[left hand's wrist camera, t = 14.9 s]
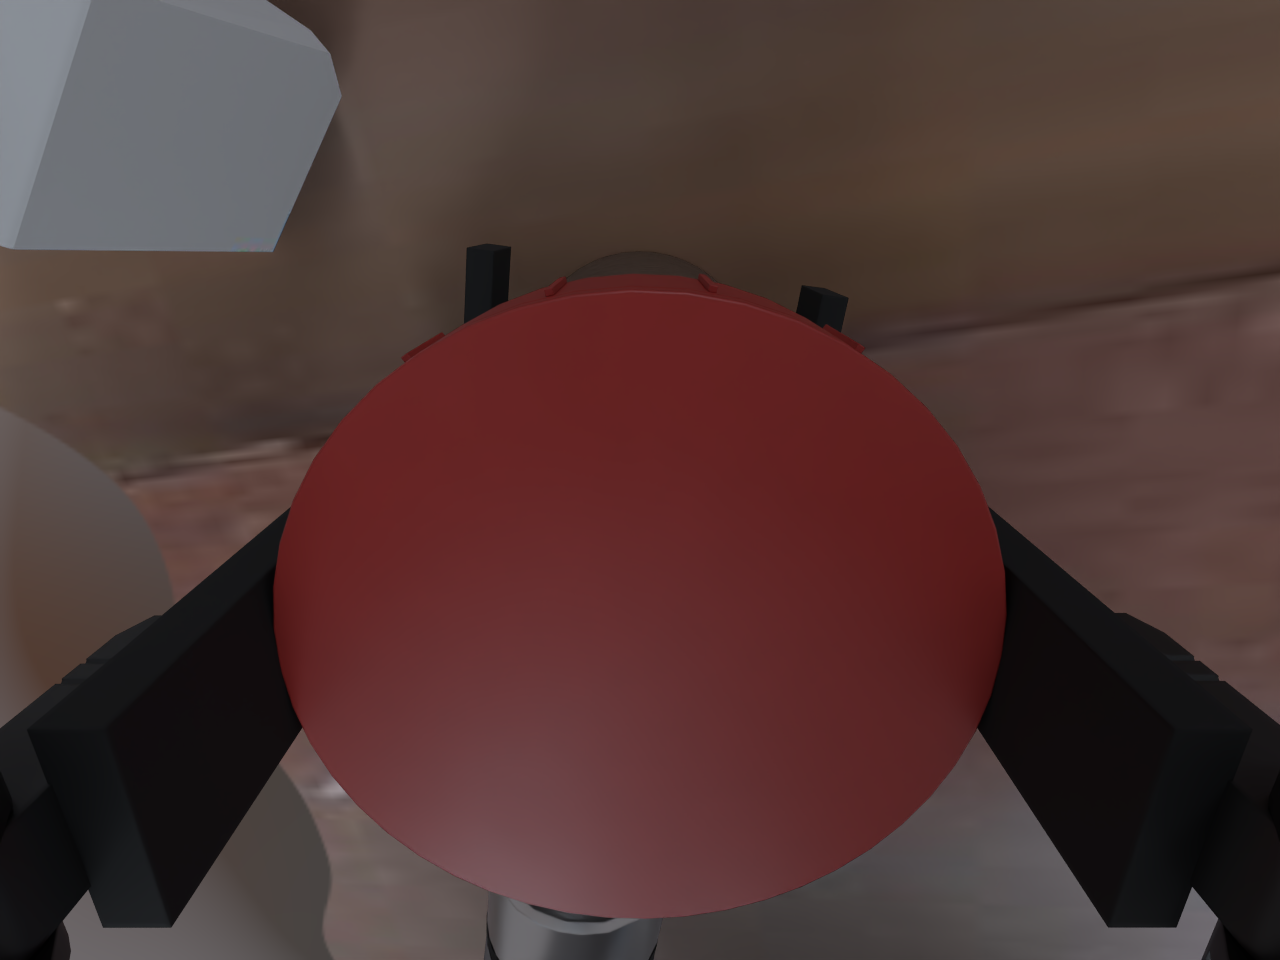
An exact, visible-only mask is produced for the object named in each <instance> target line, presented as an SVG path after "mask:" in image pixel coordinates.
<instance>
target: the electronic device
mask: <svg viewBox="0 0 1280 960" xmlns="http://www.w3.org/2000/svg"><path fill="white" fill-rule="evenodd" d="M341 97H342V95H341V92H340V88H339V84H338V81H337V77H336V73H335V69H334V66H333V62H332V58H331V54H330V53H329V52H328V50H327V49H326V48H325V47H324V46H323V44H322V43H321V42H320V41H319V40H318V39H317V37H316V36H315V35H314V34H313V33H312V31H311V30H309V29H308V28H307V27H305V26H304V25H302V24H301V23H299V22H298V21H296V20H295V19H293V18H292V17H290V16H289V15H287V14H286V13H285V12H283V11H282V10H280V9H279V8H277V7H276V6H274V5H273V4H271V3H270V2H268V1H267V0H0V246H3V247H6V248H10V249H18V250H123V251H228V252H273V251H274V249H275V247H276V244H277V242H278V240H279V238H280V235H281V233H282V231H283V228H284V226H285V224H286V222H287V219H288V217H289V215H290V213H291V210H292V208H293V206H294V204H295V201H296V199H297V197H298V194H299V192H300V190H301V188H302V185H303V183H304V181H305V179H306V176H307V174H308V172H309V170H310V167H311V165H312V163H313V160H314V158H315V156H316V154H317V151H318V149H319V147H320V145H321V142H322V140H323V138H324V136H325V133H326V131H327V129H328V126H329V124H330V122H331V120H332V117H333V115H334V113H335V111H336V108H337V106H338V104H339V102H340V99H341Z"/></svg>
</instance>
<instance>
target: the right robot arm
mask: <svg viewBox="0 0 1280 960" xmlns="http://www.w3.org/2000/svg"><path fill="white" fill-rule="evenodd" d="M510 255H511V247H508V246H501V245H493V244H483V245H478V246H473V247H468V248H467V259H466V286H465V314H464V324H465V323H467V322H469V321H470V320H472V319H474V318H476V317H478V316H479V315H481V314H483V313H485V312H487V311H488V310H490V309H492V308H494V307H496V306H498V305H499V304H502V303H504V302H507V301H508V290H509V272H510ZM847 303H848V298H847V297H845V296H842V295H840V294H837V293H835V292H833V291H830V290H828V289H825V288H818V287H811V286H803V285H802V287H801V292H800V297H799V302H798V307H797V312H796V313H797V314H799V315H801V316H803V317H805V318H807V319H808V320H810V321H812V322H813V323H815V324H816V325H818V326H819V327H821V328H823V327H824V326H825V325H826V324H827V325H829V326H830V327H832V328H834V329H835V330H837V331H839V332H840V333H841V329H842V325H843V320H844V316H845V311H846V307H847ZM662 919H663V918H651V919H636V918H606V917H598V916H590V915H582V914H574V913H566V912H562V911H557V910H553V909H548V908H544V907H539V906H535V905H530V904H527V903H524V902H520V901H517V900H514V899H511V898H508V897H505V896H502V895H499V894H496V893H493V892H490V891H489V893H488V911H487V937H486V946H485V955H484V960H654V954H655V950H656V946H657V941H658V936H659V932H660V928H661V923H662Z"/></svg>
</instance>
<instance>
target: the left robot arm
mask: <svg viewBox="0 0 1280 960" xmlns="http://www.w3.org/2000/svg"><path fill="white" fill-rule="evenodd" d="M290 508H291V507H290ZM290 508H289V509H288V510H287V511H285V512H284V513H283V514H282V515H281V516H279V517H278V518H277V519H276V520H275V521H274V522H272V523H271V524H270V525H269V526H268V527H266V528H265V529H264V530H263V531H262V532H260V533H259V534H258V535H257V536H256V537H255V538H253V539H252V540H251V541H250V542H249V543H247V544H246V545H245V546H244V547H243V548H241V549H240V550H239V551H238V552H237V553H236V554H234V555H233V556H232V557H231V558H230V559H228V560H227V561H226V562H225V563H224V564H222V565H221V566H220V567H219V568H218V569H217V570H215V571H214V572H213V573H212V574H211V575H209V576H208V577H207V578H206V579H205V580H203V581H202V582H201V583H200V584H199V585H198V586H196V587H195V588H194V589H193V590H192V591H190V592H189V593H188V594H187V595H186V596H185V597H183V598H182V599H181V600H180V601H179V602H177V603H176V604H175V605H174V606H173V607H171V608H170V609H169V610H168V611H167V612H166V613H164V614H163V615H162V616H153V617H151V618H149V619H147V620H145V621H143V622H141V623H139V624H137V625H135V626H133V627H131V628H129V629H127V630H125V631H123V632H121V633H119V634H117V635H116V636H114V637H113V638H112V639H111V640H109V641H108V642H107V643H106V644H104V645H103V646H102V647H101V648H99V649H98V650H97V651H96V652H94V653H93V654H92V655H91V656H89V657H88V658H87V661H86V664H80V665H78V666H77V667H76V668H75V669H73V670H72V671H71V672H70V673H68V674H67V675H66V676H65V677H63V678H62V683H61V684H55V685H54V686H52V687H51V688H50V689H49V690H47V691H46V692H45V693H44V694H42V695H41V696H40V697H39V698H37V699H36V700H35V701H34V702H33V703H31V704H30V705H29V706H27V707H26V708H25V709H24V710H23V711H21V712H20V713H19V714H18V715H16V716H15V717H14V718H13V719H11V720H10V721H9V722H8V723H6V724H5V725H4V726H3V727H1V728H0V960H69V959H70V953H71V949H70V943H69V936H68V933H67V931H66V928H65V926H64V923H63V920H64V918H65V917H66V916H67V915H68V914H69V912H70V911H71V910H72V909H73V907H74V906H75V905H76V904H77V903H78V901H79V900H80V899H81V898H82V896H83V895H84V894H85V893H86V892H87V890H89V892H90V895H91V898H92V900H93V903H94V905H95V908H96V910H97V913H98V916H99V918H100V921H101V923H102V926H103V928H171V927H172V926H173V924H174V923H175V921H176V919H177V918H178V916H179V915H180V913H181V912H182V910H183V909H184V907H185V906H186V904H187V903H188V901H189V900H190V898H191V897H192V895H193V894H194V892H195V890H196V889H197V887H198V886H199V884H200V883H201V881H202V880H203V878H204V877H205V875H206V874H207V872H208V871H209V869H210V868H211V866H212V865H213V863H214V861H215V860H216V858H217V857H218V855H219V854H220V852H221V851H222V849H223V848H224V846H225V845H226V843H227V842H228V840H229V839H230V837H231V836H232V834H233V833H234V831H235V829H236V828H237V826H238V825H239V823H240V822H241V820H242V819H243V817H244V816H245V814H246V813H247V811H248V810H249V808H250V807H251V805H252V804H253V802H254V801H255V799H256V797H257V796H258V794H259V793H260V791H261V790H262V788H263V787H264V785H265V784H266V782H267V781H268V779H269V777H270V776H271V775H272V773H273V771H274V770H275V768H276V767H277V765H278V764H279V762H280V761H281V759H282V758H283V756H284V755H285V753H286V752H287V750H288V749H289V747H290V746H291V744H292V743H293V741H294V739H295V738H296V736H297V735H298V733H299V732H300V730H301V729H302V725H301V723H300V721H299V719H298V717H297V715H296V713H295V711H294V709H293V706H292V703H291V700H290V697H289V694H288V691H287V688H286V685H285V681H284V678H283V675H282V671H281V667H280V662H279V657H278V651H277V645H276V639H275V633H274V606H273V585H274V578H275V571H276V565H277V558H278V551H279V544H280V540H281V537H282V534H283V531H284V528H285V524H286V521H287V518H288V515H289V512H290ZM988 508H989V507H988ZM989 511H990V514H991V516H992V519H993V522H994V524H995V527H996V530H997V535H998V540H999V545H1000V550H1001V555H1002V560H1003V565H1004V570H1005V587H1006V612H1007V616H1006V625H1005V633H1004V642H1003V650H1002V655H1001V660H1000V664H999V668H998V672H997V676H996V679H995V683H994V687H993V691H992V694H991V697H990V699H989V701H988V704H987V706H986V708H985V711H984V713H983V715H982V718H981V720H980V722H979V725H978V727H977V728H978V730H979V731H980V733H981V734H982V736H983V737H984V739H985V740H986V742H987V743H988V745H989V746H990V748H991V749H992V751H993V752H994V754H995V755H996V757H997V758H998V760H999V762H1000V763H1001V765H1002V766H1003V768H1004V769H1005V771H1006V772H1007V774H1008V775H1009V777H1010V778H1011V780H1012V781H1013V783H1014V784H1015V786H1016V787H1017V789H1018V791H1019V792H1020V794H1021V795H1022V797H1023V798H1024V800H1025V801H1026V803H1027V804H1028V806H1029V807H1030V809H1031V810H1032V812H1033V813H1034V815H1035V816H1036V818H1037V820H1038V821H1039V823H1040V824H1041V826H1042V827H1043V829H1044V830H1045V832H1046V833H1047V835H1048V836H1049V838H1050V839H1051V841H1052V842H1053V844H1054V845H1055V847H1056V849H1057V850H1058V852H1059V853H1060V855H1061V856H1062V858H1063V859H1064V861H1065V862H1066V864H1067V865H1068V867H1069V868H1070V870H1071V871H1072V873H1073V874H1074V876H1075V878H1076V879H1077V881H1078V882H1079V884H1080V885H1081V887H1082V888H1083V890H1084V891H1085V893H1086V894H1087V896H1088V897H1089V899H1090V900H1091V902H1092V903H1093V905H1094V907H1095V908H1096V910H1097V911H1098V913H1099V914H1100V916H1101V917H1102V919H1103V920H1104V922H1105V923H1106V925H1107V926H1108V927H1177V925H1178V922H1179V919H1180V917H1181V914H1182V912H1183V909H1184V906H1185V904H1186V901H1187V899H1188V896H1189V893H1190V891H1191V888H1192V887H1193V888H1194V889H1195V890H1196V892H1197V893H1198V894H1199V895H1200V897H1201V898H1202V899H1203V900H1204V901H1205V903H1206V904H1207V905H1208V906H1209V908H1210V909H1211V910H1212V911H1213V912H1214V914H1215V915H1216V916H1217V917H1218V921H1217V923H1216V926H1215V928H1214V931H1213V933H1212V935H1211V938H1210V940H1209V943H1208V945H1207V948H1206V950H1205V952H1204V955H1203V957H1202V960H1280V725H1279V724H1278V723H1277V722H1275V721H1274V720H1273V719H1272V718H1270V717H1269V716H1268V715H1267V714H1265V713H1264V712H1263V711H1262V710H1260V709H1259V708H1258V707H1257V706H1255V705H1254V704H1253V703H1252V702H1250V701H1249V700H1248V699H1247V698H1245V697H1244V696H1243V695H1242V694H1240V693H1239V692H1238V691H1237V690H1235V689H1234V688H1233V687H1232V686H1230V685H1229V684H1228V683H1227V682H1225V681H1219V679H1218V675H1217V674H1215V673H1214V672H1213V671H1212V670H1210V669H1209V668H1208V667H1207V666H1205V665H1204V664H1203V663H1202V662H1200V661H1195V660H1194V656H1193V655H1192V654H1190V653H1189V652H1188V651H1187V650H1185V649H1184V648H1183V647H1182V646H1180V645H1179V644H1178V643H1177V642H1175V641H1174V640H1173V639H1172V638H1170V637H1169V636H1168V635H1167V634H1165V633H1164V632H1162V631H1160V630H1158V629H1156V628H1154V627H1152V626H1150V625H1148V624H1146V623H1144V622H1142V621H1140V620H1138V619H1136V618H1134V617H1132V616H1131V615H1129V614H1127V613H1114V612H1113V611H1112V610H1110V609H1109V608H1108V607H1107V606H1106V605H1104V604H1103V603H1102V602H1101V601H1100V600H1099V599H1097V598H1096V597H1095V596H1094V595H1093V594H1091V593H1090V592H1089V591H1088V590H1087V589H1085V588H1084V587H1083V586H1082V585H1081V584H1080V583H1078V582H1077V581H1076V580H1075V579H1074V578H1072V577H1071V576H1070V575H1069V574H1068V573H1067V572H1065V571H1064V570H1063V569H1062V568H1061V567H1059V566H1058V565H1057V564H1056V563H1055V562H1053V561H1052V560H1051V559H1050V558H1049V557H1048V556H1046V555H1045V554H1044V553H1043V552H1042V551H1040V550H1039V549H1038V548H1037V547H1036V546H1034V545H1033V544H1032V543H1031V542H1030V541H1029V540H1027V539H1026V538H1025V537H1024V536H1023V535H1021V534H1020V533H1019V532H1018V531H1017V530H1015V529H1014V528H1013V527H1012V526H1011V525H1010V524H1008V523H1007V522H1006V521H1005V520H1004V519H1002V518H1001V517H1000V516H999V515H998V514H997V513H995V512H994V511H993V510H992V509H991V508H989Z"/></svg>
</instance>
